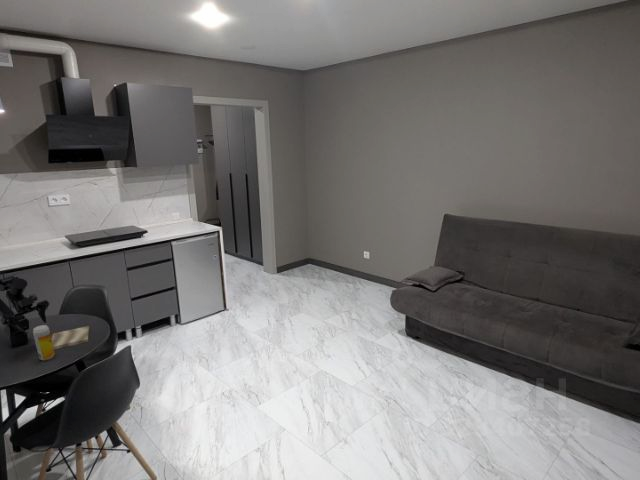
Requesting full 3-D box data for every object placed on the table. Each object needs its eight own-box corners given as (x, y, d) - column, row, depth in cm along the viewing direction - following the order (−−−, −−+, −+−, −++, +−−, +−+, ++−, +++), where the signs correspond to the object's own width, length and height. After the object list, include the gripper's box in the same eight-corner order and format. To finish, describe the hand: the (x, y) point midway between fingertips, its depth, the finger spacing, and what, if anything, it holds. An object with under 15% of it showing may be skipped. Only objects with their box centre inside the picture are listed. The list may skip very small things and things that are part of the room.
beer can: (58, 354, 187) (51, 325, 183) (46, 361, 182) (38, 331, 178) (48, 353, 189) (41, 323, 185) (36, 360, 184) (28, 330, 180)
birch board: (49, 350, 191) (48, 347, 191) (53, 336, 205) (53, 333, 205) (88, 341, 198) (87, 339, 198) (89, 328, 212) (89, 325, 212)
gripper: (-3, 298, 177) (15, 327, 174) (43, 284, 192) (60, 310, 190) (-7, 310, 183) (10, 338, 180) (38, 296, 198) (54, 321, 196)
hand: (35, 326), depth 186 cm, fingers open, 9 cm apart
